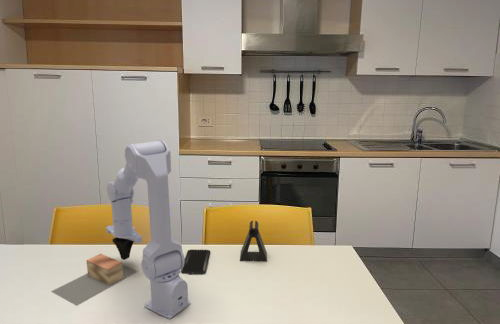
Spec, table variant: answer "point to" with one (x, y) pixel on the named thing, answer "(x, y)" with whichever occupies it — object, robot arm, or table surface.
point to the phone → (196, 262)
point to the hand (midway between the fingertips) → (125, 258)
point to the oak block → (104, 269)
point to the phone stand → (262, 251)
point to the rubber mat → (87, 287)
